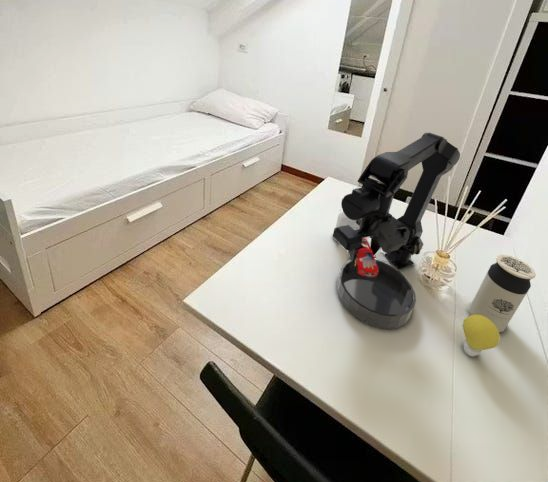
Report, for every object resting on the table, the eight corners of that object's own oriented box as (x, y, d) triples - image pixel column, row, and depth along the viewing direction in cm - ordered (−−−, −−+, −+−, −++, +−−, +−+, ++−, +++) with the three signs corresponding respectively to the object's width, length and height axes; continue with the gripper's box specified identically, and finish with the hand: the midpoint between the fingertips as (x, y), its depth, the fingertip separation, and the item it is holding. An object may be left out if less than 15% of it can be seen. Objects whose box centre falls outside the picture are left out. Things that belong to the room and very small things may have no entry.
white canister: (470, 300, 81) (496, 248, 73) (505, 318, 76) (536, 265, 69) (466, 318, 75) (494, 265, 68) (503, 339, 70) (537, 284, 63)
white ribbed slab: (362, 238, 101) (370, 208, 96) (364, 246, 97) (373, 215, 92) (332, 234, 101) (339, 203, 96) (333, 242, 97) (340, 211, 93)
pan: (375, 262, 90) (378, 251, 89) (427, 314, 75) (432, 302, 73) (323, 278, 82) (326, 266, 81) (369, 340, 67) (374, 327, 65)
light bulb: (487, 373, 62) (506, 342, 59) (452, 354, 66) (468, 324, 62) (485, 348, 68) (503, 318, 64) (453, 331, 71) (468, 302, 67)
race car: (378, 281, 70) (383, 269, 68) (356, 278, 70) (360, 266, 68) (365, 244, 82) (369, 233, 80) (346, 242, 82) (350, 230, 80)
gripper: (370, 235, 59) (354, 291, 65) (432, 219, 67) (412, 270, 73) (337, 206, 68) (326, 257, 74) (395, 194, 76) (380, 242, 82)
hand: (362, 257), depth 76 cm, fingers closed on race car, 6 cm apart
